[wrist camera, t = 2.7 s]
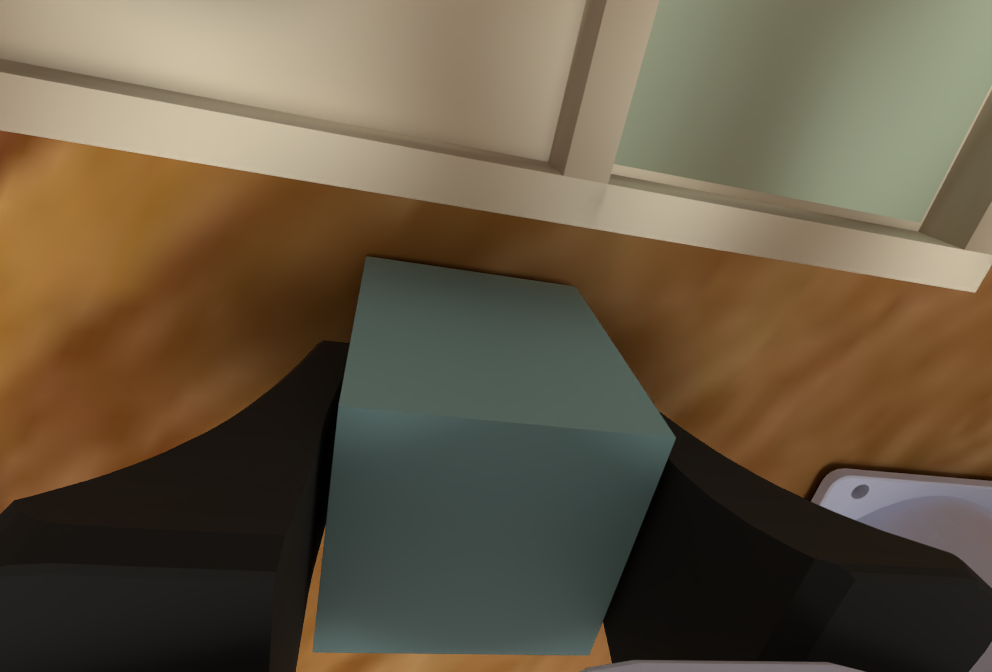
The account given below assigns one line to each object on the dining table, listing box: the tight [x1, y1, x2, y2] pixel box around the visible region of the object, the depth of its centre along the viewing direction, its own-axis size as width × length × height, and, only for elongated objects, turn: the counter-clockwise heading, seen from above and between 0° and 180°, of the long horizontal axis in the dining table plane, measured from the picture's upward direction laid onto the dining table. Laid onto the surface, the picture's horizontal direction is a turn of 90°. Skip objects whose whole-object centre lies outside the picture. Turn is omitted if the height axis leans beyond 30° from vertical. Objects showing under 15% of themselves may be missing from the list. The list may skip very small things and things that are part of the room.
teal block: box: [313, 256, 676, 655], centre depth 11 cm, size 4×4×6 cm
